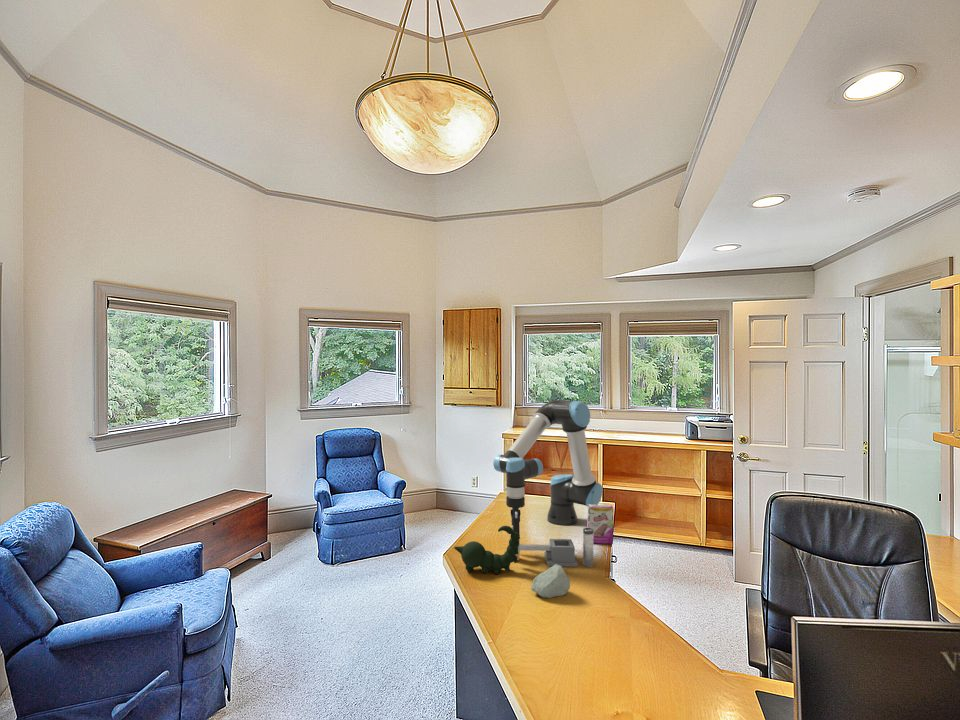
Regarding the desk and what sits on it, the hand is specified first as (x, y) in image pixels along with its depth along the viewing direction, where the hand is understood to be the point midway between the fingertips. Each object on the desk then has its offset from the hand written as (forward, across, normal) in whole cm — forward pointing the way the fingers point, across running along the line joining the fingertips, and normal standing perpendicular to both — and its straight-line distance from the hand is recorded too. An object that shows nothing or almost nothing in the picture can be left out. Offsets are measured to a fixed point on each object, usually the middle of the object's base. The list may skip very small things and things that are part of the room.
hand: (515, 548), depth 200 cm
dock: (+5, 0, +18) cm, 19 cm away
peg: (+5, +4, +29) cm, 30 cm away
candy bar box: (+5, -21, +39) cm, 44 cm away
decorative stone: (+5, +29, +11) cm, 32 cm away
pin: (+4, 0, +6) cm, 8 cm away
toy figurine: (+5, +12, -12) cm, 17 cm away
